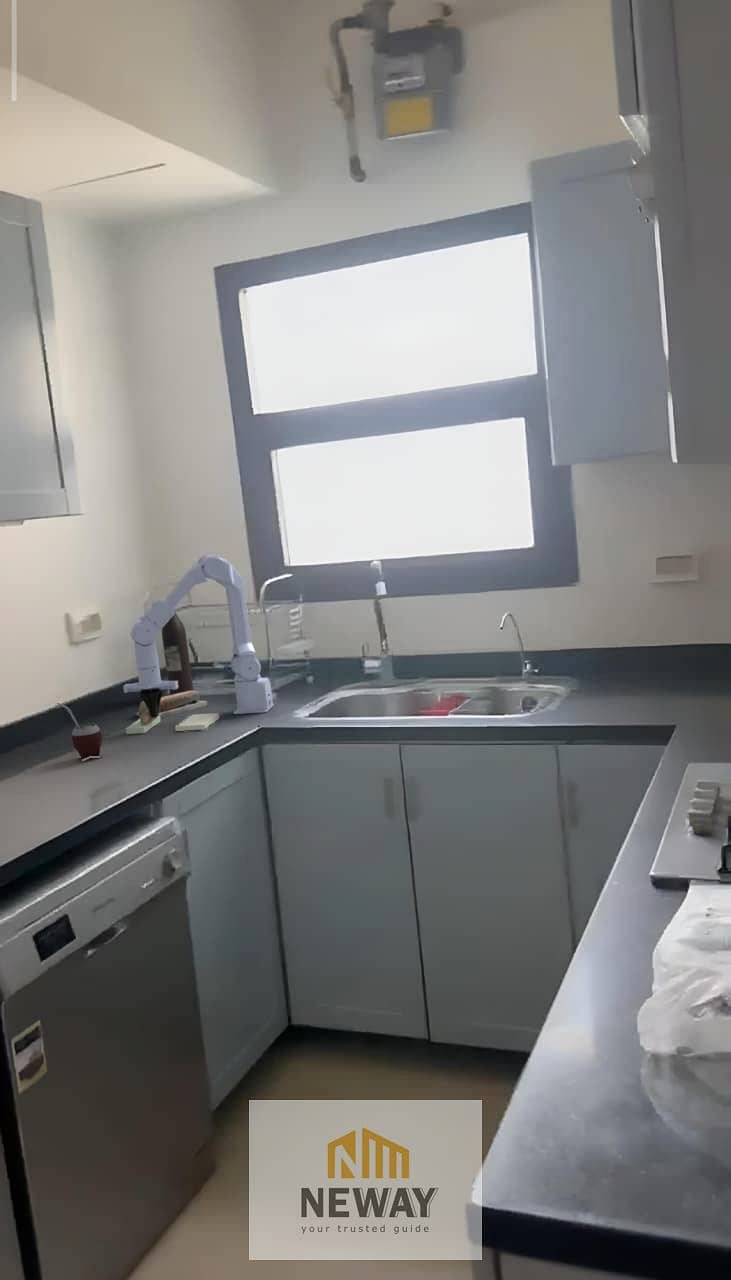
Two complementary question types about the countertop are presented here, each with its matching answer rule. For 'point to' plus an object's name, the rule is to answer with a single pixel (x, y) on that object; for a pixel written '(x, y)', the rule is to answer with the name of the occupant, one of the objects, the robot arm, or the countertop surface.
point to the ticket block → (197, 721)
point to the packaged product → (176, 703)
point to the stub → (143, 724)
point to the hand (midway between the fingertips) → (155, 716)
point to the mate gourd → (85, 738)
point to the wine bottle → (177, 655)
